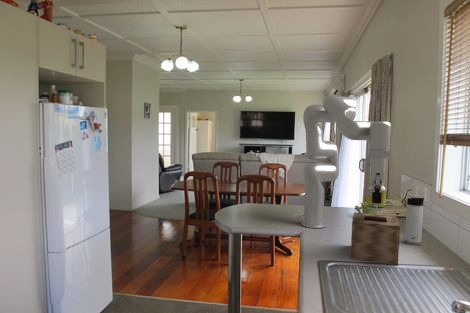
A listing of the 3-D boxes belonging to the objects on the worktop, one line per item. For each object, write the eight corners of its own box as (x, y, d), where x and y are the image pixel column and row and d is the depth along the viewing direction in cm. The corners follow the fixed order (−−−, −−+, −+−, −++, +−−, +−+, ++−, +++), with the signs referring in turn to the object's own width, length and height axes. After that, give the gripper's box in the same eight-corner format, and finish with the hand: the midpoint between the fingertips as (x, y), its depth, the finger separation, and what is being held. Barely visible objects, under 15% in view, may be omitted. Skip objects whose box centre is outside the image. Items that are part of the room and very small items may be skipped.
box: (350, 258, 129) (352, 221, 128) (352, 245, 144) (354, 212, 143) (397, 265, 124) (400, 226, 123) (395, 251, 139) (397, 216, 138)
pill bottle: (384, 208, 135) (385, 179, 134) (385, 211, 129) (387, 181, 128) (367, 206, 137) (368, 178, 136) (367, 210, 131) (369, 180, 130)
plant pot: (372, 222, 183) (373, 206, 183) (356, 218, 191) (357, 203, 190) (381, 220, 189) (382, 204, 189) (365, 216, 197) (366, 201, 196)
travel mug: (415, 246, 146) (418, 198, 144) (401, 241, 152) (404, 196, 150) (425, 244, 149) (427, 197, 147) (411, 239, 154) (413, 195, 153)
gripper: (368, 152, 141) (366, 196, 142) (367, 155, 125) (365, 204, 126) (388, 153, 138) (386, 198, 139) (390, 156, 122) (388, 206, 123)
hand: (376, 201), depth 132 cm, fingers closed on pill bottle, 6 cm apart
